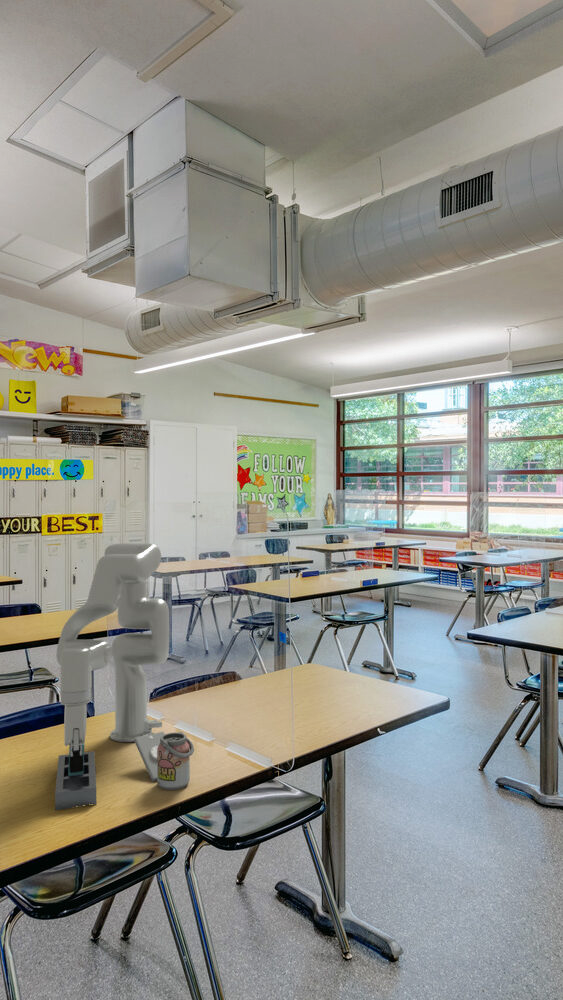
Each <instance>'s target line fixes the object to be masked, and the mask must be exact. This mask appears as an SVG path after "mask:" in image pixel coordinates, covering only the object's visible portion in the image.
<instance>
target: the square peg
mask: <svg viewBox="0 0 563 1000" xmlns="http://www.w3.org/2000/svg"><path fill="white" fill-rule="evenodd" d="M72 743H74V741H73V742H72ZM79 743H80V741H79ZM70 744H71V742H70ZM68 746H69V747H68V748H69V749H68V750H69V751H68V754H69V769H68V776H74V775H82V774H83V771H82V772H74V773H70V756H71V746H70V745H68ZM79 747H80V746H79ZM73 748H74V747H73ZM84 752H85V743H84V744H82V755H83V770H84Z"/></svg>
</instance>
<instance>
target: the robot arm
mask: <svg viewBox="0 0 563 1000" xmlns="http://www.w3.org/2000/svg"><path fill="white" fill-rule="evenodd" d="M161 561H162V553H161V549H160V547H159V546H158V545H156V544H155V543H114V544H111V545H108V546H107V547H106V548H105V549H104V555H103V556H101V557H100V558H99V560H98V561H97V564H96V566H95V570H94V574H93V577H92V578H93V579H92V581H91V585H90V589H89V593H88V598H87V600H86V601H85V603H84V604H83V605H81V607H79V608H78V609H77V610H76V611H75V612H74V613H73V614H72V615H71V616H70V617H69V618H68V619H67V621H66V622H65V623H64V625H63V627H62V629H61V632H60V636H59V639H58V644H57V648H56V656H55V657H56V661H57V663H58V665H59V666H60V704H61V705H62V706H64V725H63V727H64V735H63V737H64V738H63V739H64V740H63V741H64V746H65V747H68V746H69V745H70V746H71V756H70V773H74V772H82V771H83V755H82V744H84V745H85V742H86V741H85V740H86V733H87V719H88V718H87V716H88V715H87V714H88V712H87V711H88V710H87V708H88V707H87V706H88V703H91V702H92V687H93V685H92V683H93V681H92V679H93V678H92V676H93V675H92V671H96V670H101V669H104V668H105V667H107V666H108V665H109V663H110V662H111V661H113V667H114V679H115V680H114V682H115V684H114V685H115V687H114V690H115V691H114V694H115V697H114V702H115V703H114V705H115V718H114V719H115V721H114V722H115V725H114V726H115V727H114V729H113V730H111V731H110V735H109V737H110V739H111V740H113V741H115V742H120V743H131V742H134V740H135V738H137V737H141V736H146V735H150V734H153V730H152V729H155V728H156V729H157V728H163V722H162V720H157V719H153V720H150V719H149V718H148V715H147V714H148V713H147V712H148V711H147V709H148V708H147V706H148V704H147V695H148V694H147V692H148V691H147V684H148V683H147V676H146V673H145V671H144V669H143V668H142V665H143V666H150V665H151V666H157V665H158V666H161V665H163V664H165V663H166V661H167V660H168V658H169V653H170V609H169V605H168V603H167V602H166V601H165V600H164V599H162V598H155V597H154V598H153V597H151V598H147V593H146V591H147V589H146V588H147V587H146V581H147V580H148V579H150V577H151V576H152V575H153V574H154V573H155V572H156V571H157V570H158V568H159V567H160V565H161ZM116 611H117V622H118V624H119V626H120V627H121V628H124V629H129V630H130V629H132V630H150V631H151V633H147V632H145V633H143V632H127V633H125V632H124V633H121V634H118V635H117V636H116V637H114V639H113V641H112V645H111V644H110V642H108V641H106V640H102V639H101V640H100V639H77V638H78V636H79V635H80V633H81V631H83V630H84V628H86V627H87V626H88V625H90V624H91V623H93V622H95V621H98V620H100V619H102V618H104V617H106V616H110V615H111V614H113V613H114V612H116ZM73 741H74V743H72V742H73ZM79 741H80V743H79ZM70 742H71V744H70ZM134 743H135V742H134ZM79 746H80V747H79ZM73 747H74V748H73Z"/></svg>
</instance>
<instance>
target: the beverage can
mask: <svg viewBox="0 0 563 1000" xmlns="http://www.w3.org/2000/svg"><path fill="white" fill-rule="evenodd" d="M164 734H165V735H163V736H161V738H160V744H159V746H158V748H157V781H156V782H157V785H158V786H159V787H160V789H163V790H166V791H177V790H181V789H183V788H185V787H186V786H188V784H189V783H190V779H191V778H190V777H191V776H190V775H191V772H190V771H191V769H190V766H191V765H190V760H191V759H190V757H191V756H192V755H193V754H194V752H195V747H194V744H193V742H192V741H191V740H190V739H189V738H188V737H187V735H186V734H184V732H183V731H179V732H169V733H164Z"/></svg>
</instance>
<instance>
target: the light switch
mask: <svg viewBox="0 0 563 1000" xmlns="http://www.w3.org/2000/svg"><path fill="white" fill-rule="evenodd" d="M165 734H166V733H165V731H160V732H155V733H152V734H150V735H146V736H141V737H137V738H135V740H134V744H135V746H136V748H137V750H138V753H139V754H140V757H141V759H142V761H143V765H144V766H145V769H146V771H147V773H148V775H149V778H150V779H151V781H152V782H153V783H154V782H155V783H156V782H157V748H158V746H159V744H160V738H161V736H163V735H165Z"/></svg>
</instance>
